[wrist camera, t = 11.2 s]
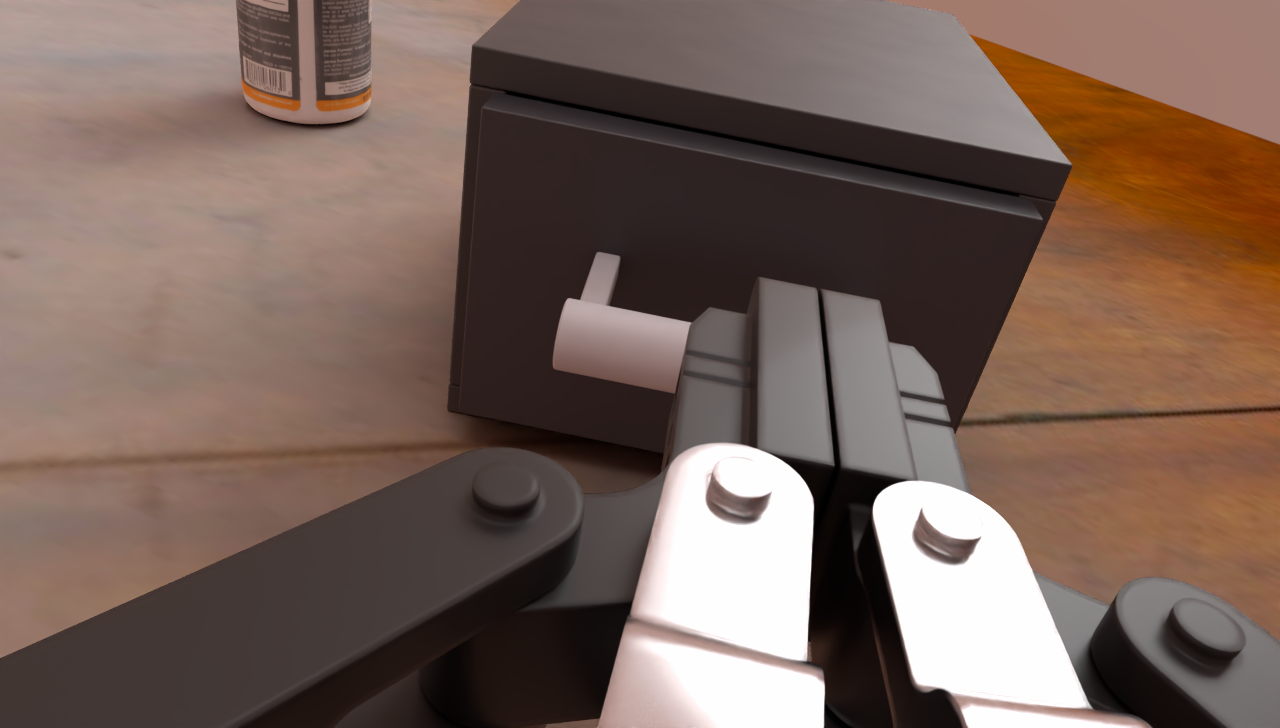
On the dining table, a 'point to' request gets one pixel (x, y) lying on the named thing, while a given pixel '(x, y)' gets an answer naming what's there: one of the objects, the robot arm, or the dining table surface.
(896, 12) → the small drawer unit
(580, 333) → the drawer with bar handle
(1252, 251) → the dining table surface
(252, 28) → the pill bottle
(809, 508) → the robot arm
